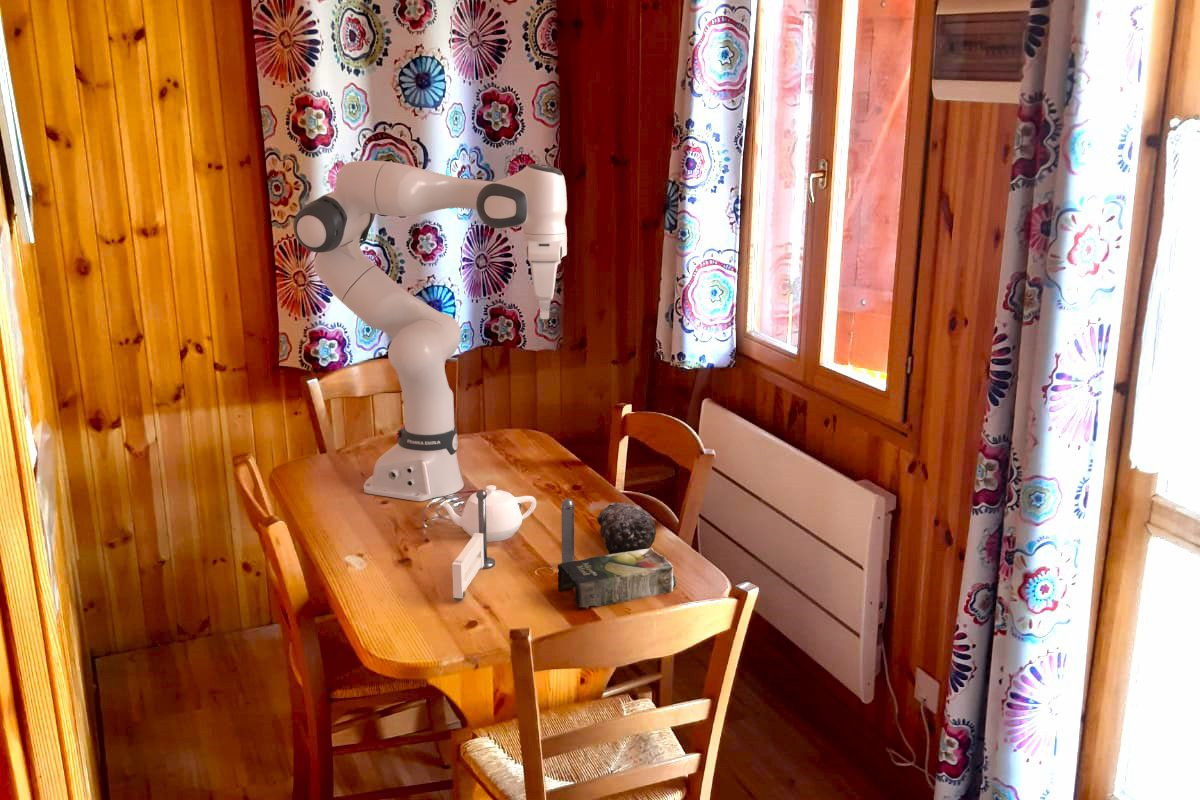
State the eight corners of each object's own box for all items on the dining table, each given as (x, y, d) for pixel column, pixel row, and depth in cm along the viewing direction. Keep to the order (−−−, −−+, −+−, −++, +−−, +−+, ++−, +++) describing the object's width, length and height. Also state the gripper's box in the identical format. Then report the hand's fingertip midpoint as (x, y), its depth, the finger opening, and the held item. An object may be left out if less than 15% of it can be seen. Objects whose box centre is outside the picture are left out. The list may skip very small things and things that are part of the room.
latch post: (560, 567, 208) (560, 500, 204) (563, 562, 210) (562, 496, 206) (573, 568, 207) (572, 501, 203) (575, 563, 209) (575, 497, 206)
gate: (475, 567, 207) (473, 532, 205) (485, 568, 206) (484, 533, 204) (452, 601, 193) (451, 563, 191) (463, 602, 193) (462, 564, 191)
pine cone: (628, 527, 227) (628, 482, 224) (664, 561, 211) (665, 513, 208) (581, 535, 223) (581, 489, 220) (615, 569, 207) (615, 520, 204)
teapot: (447, 551, 215) (446, 503, 212) (435, 528, 226) (433, 482, 223) (545, 538, 221) (544, 491, 218) (528, 516, 232) (527, 471, 230)
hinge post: (469, 568, 207) (466, 493, 203) (475, 558, 211) (473, 484, 207) (491, 570, 206) (489, 494, 202) (497, 560, 211) (495, 486, 206)
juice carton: (654, 571, 207) (655, 541, 205) (679, 592, 198) (680, 562, 196) (556, 591, 199) (556, 561, 197) (578, 615, 190) (577, 583, 189)
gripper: (531, 239, 231) (531, 303, 234) (527, 253, 211) (527, 323, 215) (561, 239, 231) (561, 303, 235) (559, 254, 211) (559, 324, 215)
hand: (545, 313), depth 225 cm, fingers open, 8 cm apart
